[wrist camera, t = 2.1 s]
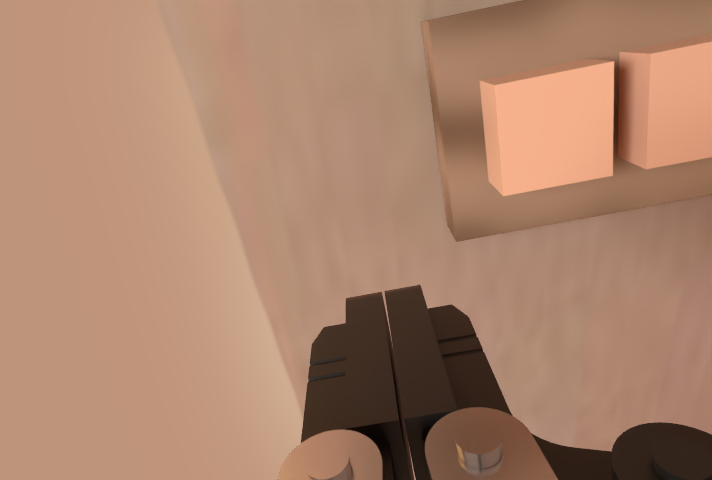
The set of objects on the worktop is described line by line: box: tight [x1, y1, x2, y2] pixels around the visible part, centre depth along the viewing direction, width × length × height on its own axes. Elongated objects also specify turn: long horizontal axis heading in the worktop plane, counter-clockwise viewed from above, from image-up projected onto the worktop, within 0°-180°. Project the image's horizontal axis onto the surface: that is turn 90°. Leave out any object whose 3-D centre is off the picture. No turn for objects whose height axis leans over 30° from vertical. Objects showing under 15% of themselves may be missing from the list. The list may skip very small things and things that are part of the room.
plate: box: [421, 0, 712, 242], centre depth 25 cm, size 11×17×2 cm, turn 101°
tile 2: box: [618, 33, 712, 169], centre depth 22 cm, size 5×5×2 cm
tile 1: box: [480, 59, 614, 196], centre depth 23 cm, size 5×5×2 cm
